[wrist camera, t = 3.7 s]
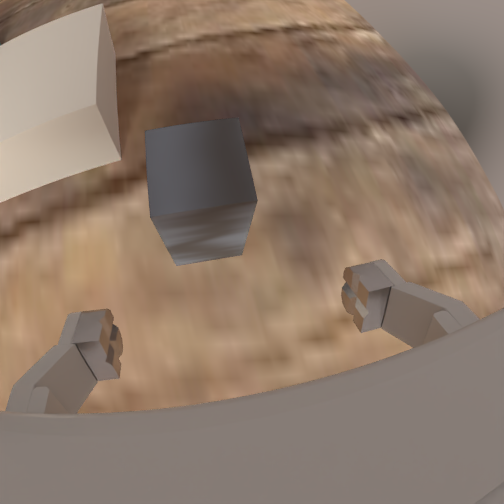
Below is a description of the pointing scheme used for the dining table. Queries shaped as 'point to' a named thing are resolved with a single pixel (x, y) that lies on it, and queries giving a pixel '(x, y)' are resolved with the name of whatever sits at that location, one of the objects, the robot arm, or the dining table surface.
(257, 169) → the dining table surface
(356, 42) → the dining table surface
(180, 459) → the robot arm
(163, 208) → the slate block
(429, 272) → the dining table surface
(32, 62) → the painted box
